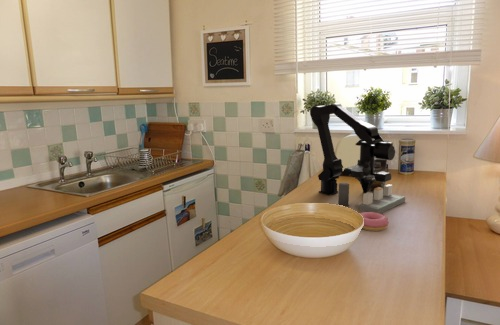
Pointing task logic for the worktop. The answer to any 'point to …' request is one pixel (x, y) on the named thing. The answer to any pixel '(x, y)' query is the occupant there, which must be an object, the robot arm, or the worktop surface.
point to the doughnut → (374, 221)
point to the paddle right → (388, 190)
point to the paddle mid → (378, 193)
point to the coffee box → (380, 167)
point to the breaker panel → (382, 204)
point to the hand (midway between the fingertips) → (365, 194)
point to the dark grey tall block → (343, 194)
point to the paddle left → (367, 198)
